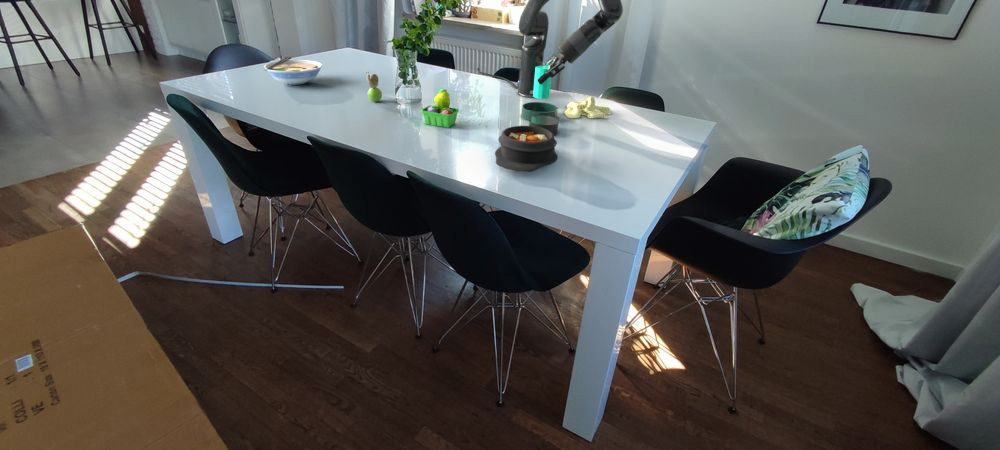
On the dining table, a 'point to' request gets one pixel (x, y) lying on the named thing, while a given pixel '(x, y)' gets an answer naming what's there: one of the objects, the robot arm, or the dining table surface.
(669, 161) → the dining table surface
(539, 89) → the candle
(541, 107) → the tin
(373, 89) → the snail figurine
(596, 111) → the cloth
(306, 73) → the ramen bowl
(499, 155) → the casserole
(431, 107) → the fruit basket
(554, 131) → the stand
